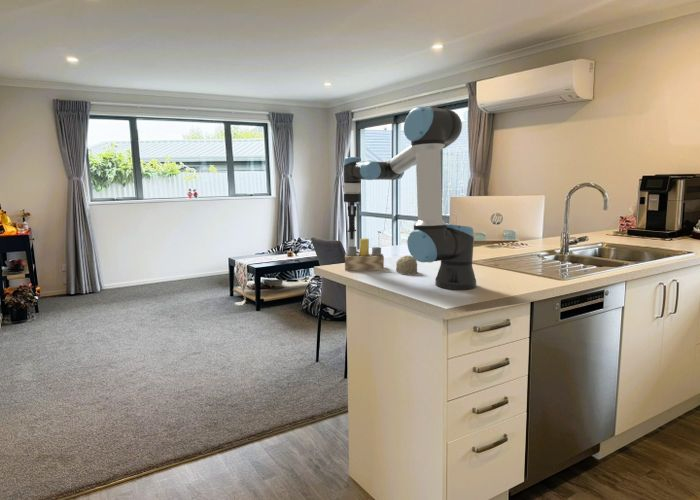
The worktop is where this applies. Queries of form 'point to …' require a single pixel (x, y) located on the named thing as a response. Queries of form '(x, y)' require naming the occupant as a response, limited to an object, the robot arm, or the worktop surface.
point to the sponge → (406, 265)
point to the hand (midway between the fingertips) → (351, 246)
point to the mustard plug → (364, 247)
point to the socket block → (364, 262)
